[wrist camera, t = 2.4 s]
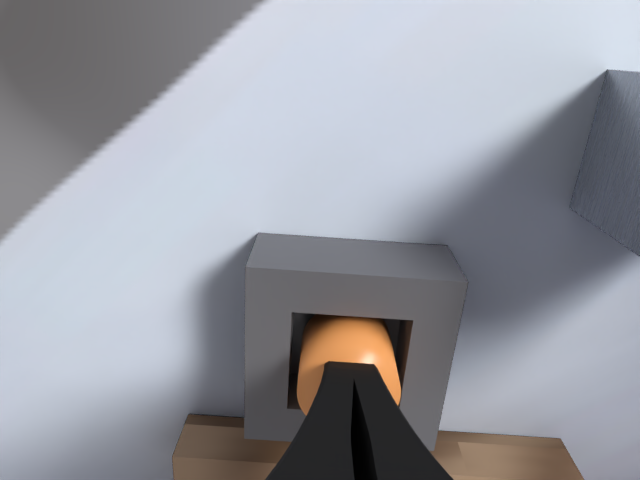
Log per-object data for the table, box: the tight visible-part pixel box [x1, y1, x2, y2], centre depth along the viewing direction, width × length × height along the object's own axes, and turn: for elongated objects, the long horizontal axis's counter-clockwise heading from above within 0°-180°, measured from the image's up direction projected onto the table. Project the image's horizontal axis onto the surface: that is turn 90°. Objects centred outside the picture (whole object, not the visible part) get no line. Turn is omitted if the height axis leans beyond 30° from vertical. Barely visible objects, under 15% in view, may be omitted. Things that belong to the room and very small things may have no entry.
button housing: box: [244, 233, 468, 451], centre depth 15 cm, size 6×6×2 cm
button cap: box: [297, 314, 401, 416], centre depth 14 cm, size 3×3×2 cm
